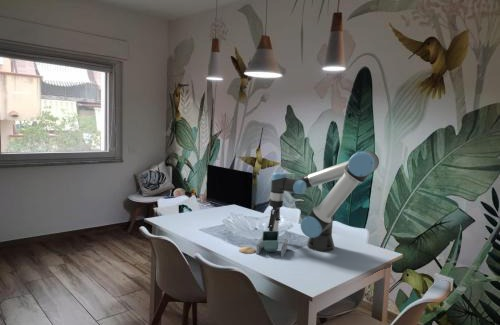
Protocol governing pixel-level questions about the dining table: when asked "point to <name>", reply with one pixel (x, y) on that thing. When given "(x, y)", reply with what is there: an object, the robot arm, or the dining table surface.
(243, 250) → the cork mat
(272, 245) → the flower pot
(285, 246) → the grey holder
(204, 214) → the dining table surface
